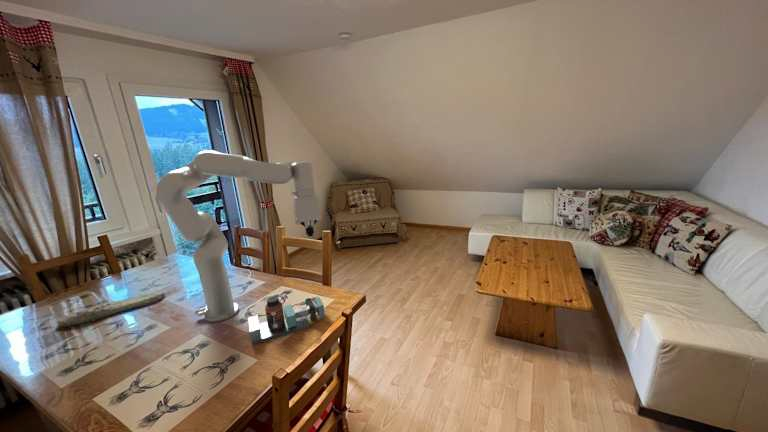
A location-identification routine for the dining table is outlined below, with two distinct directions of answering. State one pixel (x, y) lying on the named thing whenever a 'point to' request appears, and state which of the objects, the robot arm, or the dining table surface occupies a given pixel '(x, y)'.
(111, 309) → the long grey stone
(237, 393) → the dining table surface
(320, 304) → the blue dumbbell
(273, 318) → the supplement bottle
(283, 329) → the press bed
